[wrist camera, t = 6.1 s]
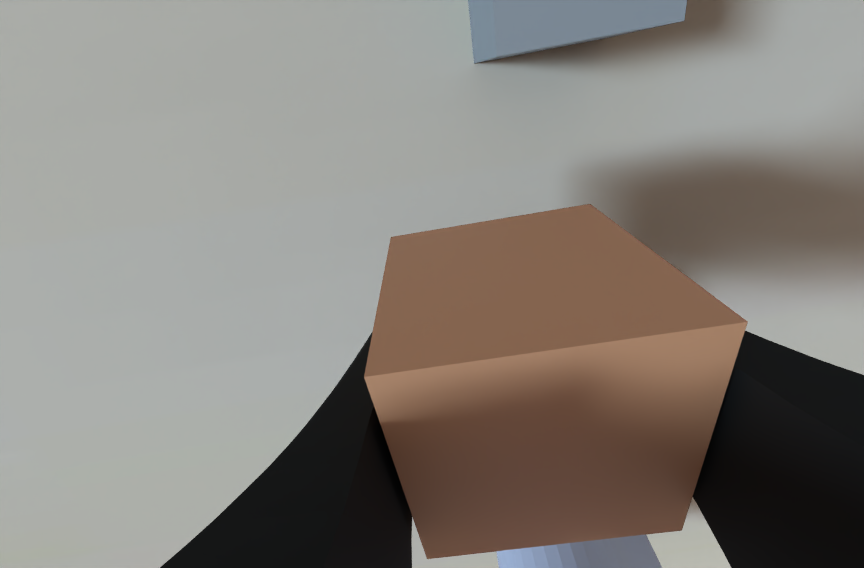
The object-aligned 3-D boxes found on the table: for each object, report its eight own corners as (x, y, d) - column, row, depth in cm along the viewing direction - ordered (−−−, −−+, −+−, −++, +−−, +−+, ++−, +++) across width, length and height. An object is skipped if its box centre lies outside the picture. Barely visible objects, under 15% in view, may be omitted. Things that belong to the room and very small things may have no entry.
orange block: (582, 358, 11) (681, 530, 7) (425, 380, 12) (427, 558, 7) (590, 203, 9) (747, 321, 5) (391, 237, 9) (363, 377, 5)
